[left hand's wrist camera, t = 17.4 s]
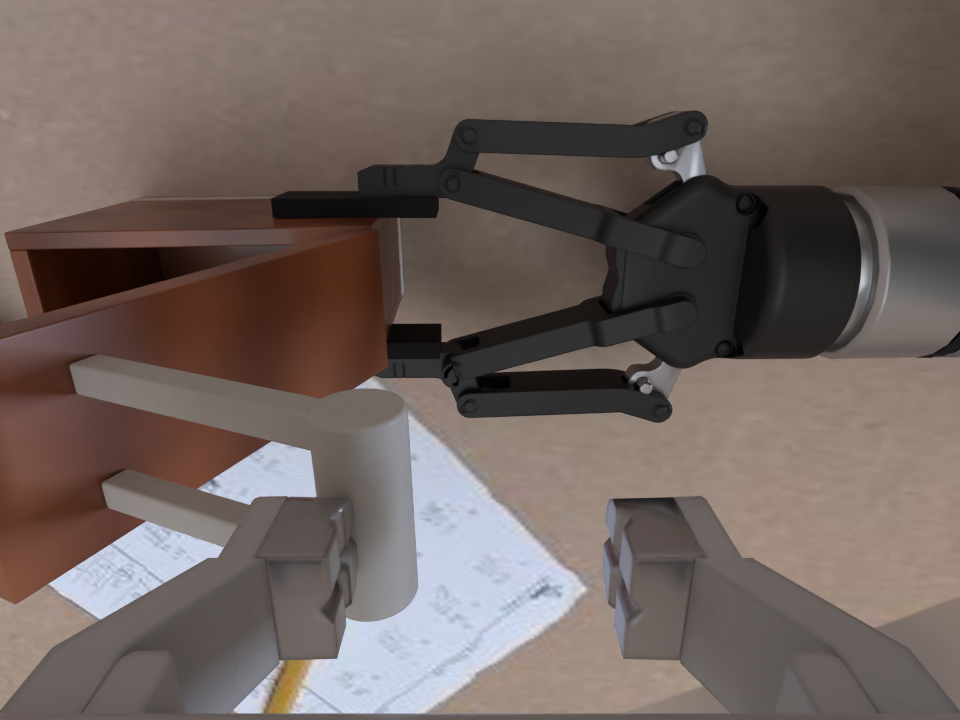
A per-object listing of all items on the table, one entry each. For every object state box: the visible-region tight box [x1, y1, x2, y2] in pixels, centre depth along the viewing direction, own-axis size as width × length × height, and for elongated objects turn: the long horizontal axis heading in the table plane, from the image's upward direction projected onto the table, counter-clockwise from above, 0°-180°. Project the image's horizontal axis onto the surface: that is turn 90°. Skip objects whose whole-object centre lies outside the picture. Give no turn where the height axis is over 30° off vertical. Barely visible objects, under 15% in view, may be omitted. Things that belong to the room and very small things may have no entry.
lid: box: [0, 228, 418, 622], centre depth 16 cm, size 14×5×9 cm
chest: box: [5, 196, 404, 342], centre depth 29 cm, size 13×5×10 cm, turn 91°
